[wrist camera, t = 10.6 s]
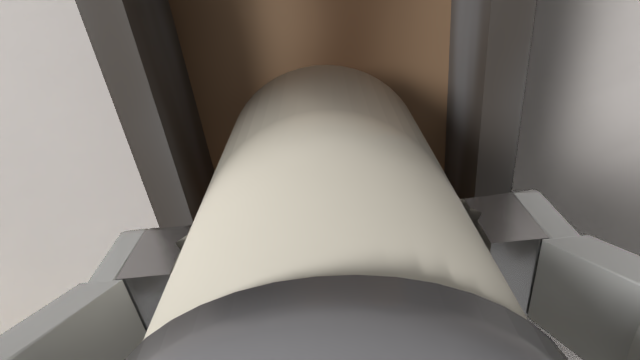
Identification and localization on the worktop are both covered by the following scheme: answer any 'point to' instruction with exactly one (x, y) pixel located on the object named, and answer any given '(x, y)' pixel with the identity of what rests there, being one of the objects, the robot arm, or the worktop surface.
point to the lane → (303, 51)
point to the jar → (335, 242)
